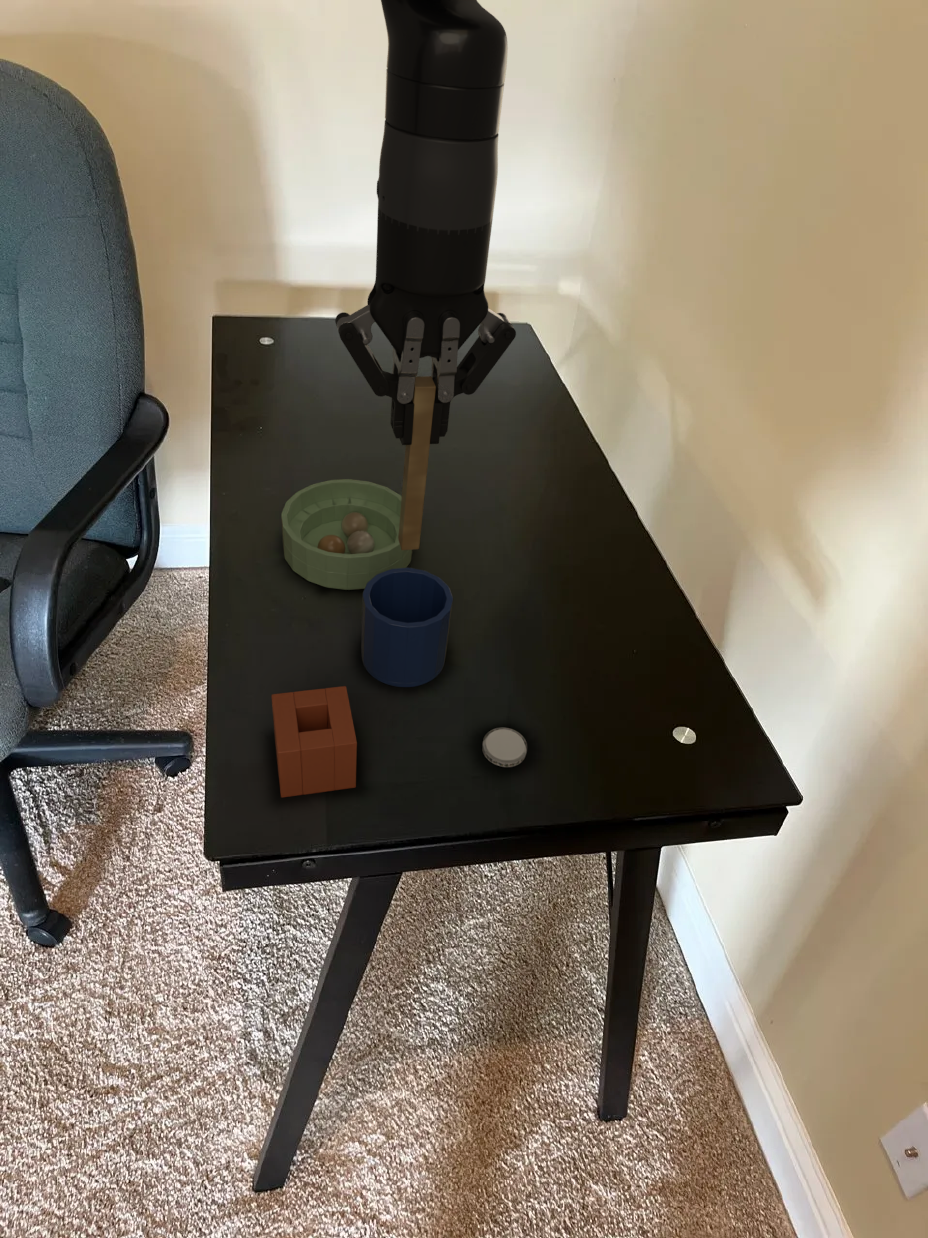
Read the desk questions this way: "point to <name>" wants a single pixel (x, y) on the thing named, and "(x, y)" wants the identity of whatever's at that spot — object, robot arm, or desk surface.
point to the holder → (314, 741)
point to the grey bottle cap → (504, 747)
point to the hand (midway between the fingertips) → (418, 438)
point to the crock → (405, 626)
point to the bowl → (323, 514)
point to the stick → (416, 464)
